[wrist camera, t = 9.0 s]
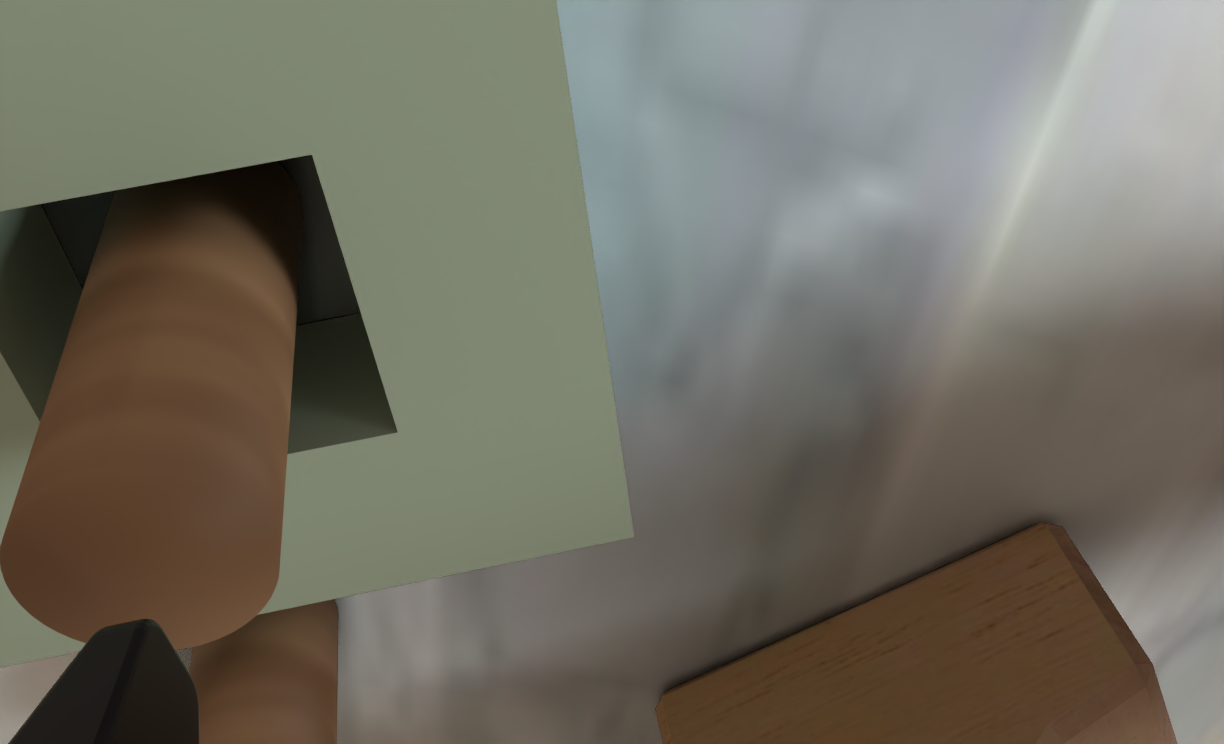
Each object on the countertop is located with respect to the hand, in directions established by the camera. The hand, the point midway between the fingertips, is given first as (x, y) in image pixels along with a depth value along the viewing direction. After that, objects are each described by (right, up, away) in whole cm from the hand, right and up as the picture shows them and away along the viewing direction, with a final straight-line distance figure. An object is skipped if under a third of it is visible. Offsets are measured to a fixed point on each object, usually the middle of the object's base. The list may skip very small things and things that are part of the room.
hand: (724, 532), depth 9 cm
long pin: (-8, +4, +10) cm, 13 cm away
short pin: (-8, -4, +16) cm, 19 cm away
